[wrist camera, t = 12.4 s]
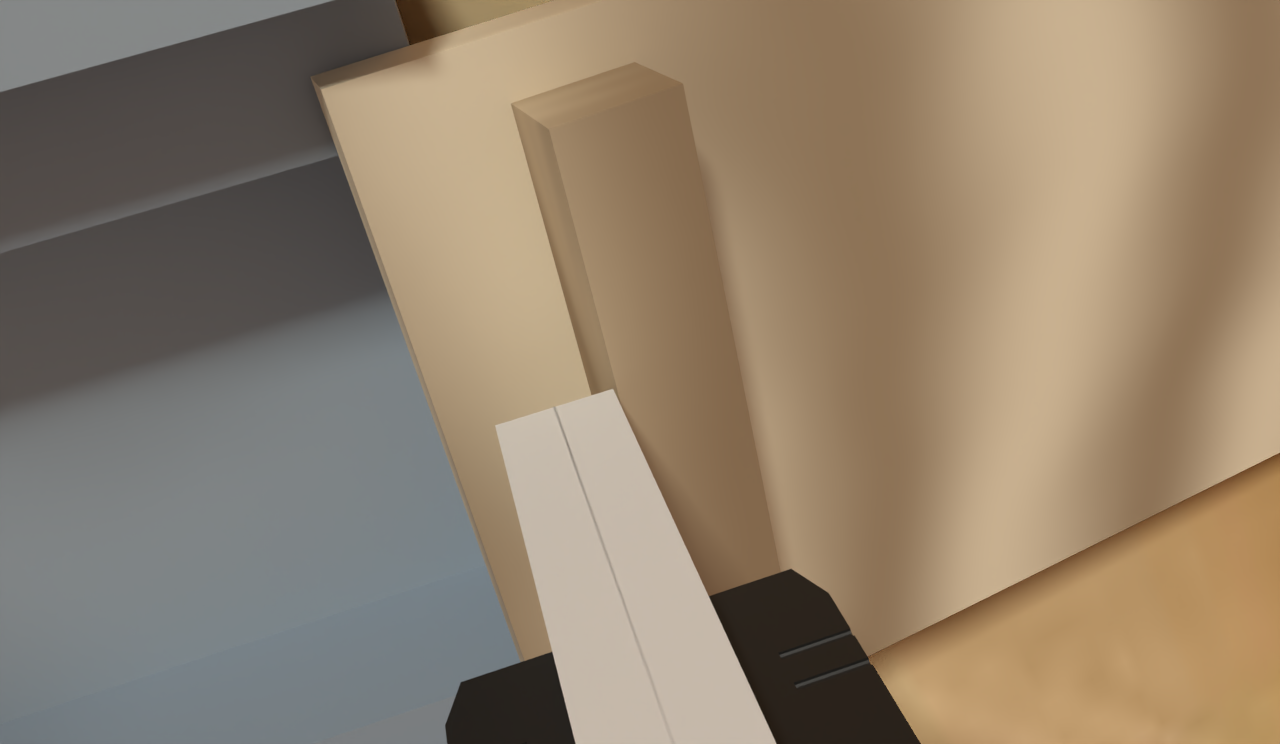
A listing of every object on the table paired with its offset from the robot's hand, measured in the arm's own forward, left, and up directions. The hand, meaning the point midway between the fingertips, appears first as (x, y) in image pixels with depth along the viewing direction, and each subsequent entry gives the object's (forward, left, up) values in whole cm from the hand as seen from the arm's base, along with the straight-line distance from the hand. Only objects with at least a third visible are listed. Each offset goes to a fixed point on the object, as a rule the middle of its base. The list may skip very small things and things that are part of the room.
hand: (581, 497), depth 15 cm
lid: (+11, 0, -4) cm, 11 cm away
